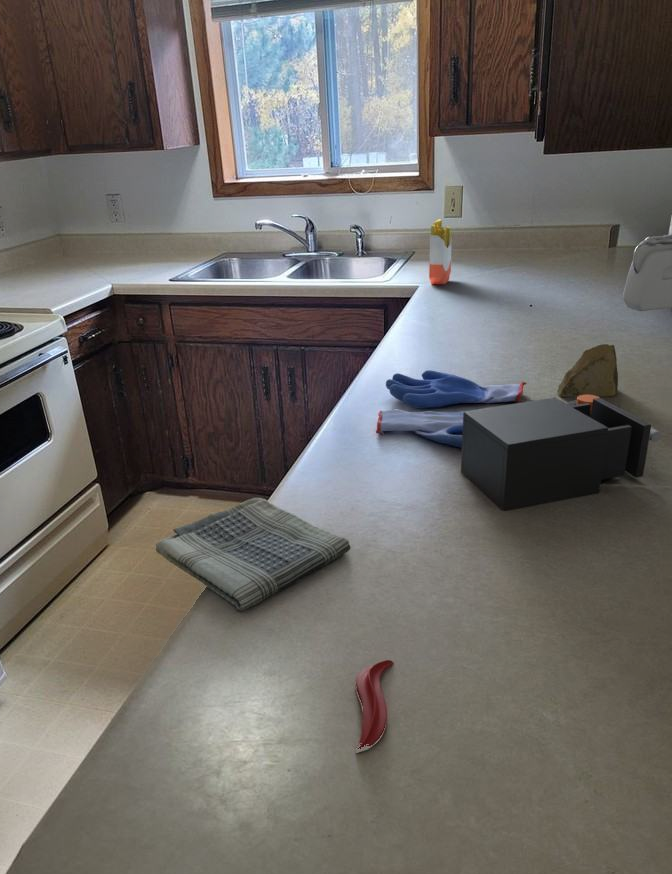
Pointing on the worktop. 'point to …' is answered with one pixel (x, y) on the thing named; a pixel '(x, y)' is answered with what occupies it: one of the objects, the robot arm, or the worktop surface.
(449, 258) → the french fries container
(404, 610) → the worktop surface
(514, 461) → the matte charcoal box
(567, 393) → the rock
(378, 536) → the worktop surface
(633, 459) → the drawer
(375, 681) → the cayenne pepper
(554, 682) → the worktop surface
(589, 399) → the button
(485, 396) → the pair of gloves
